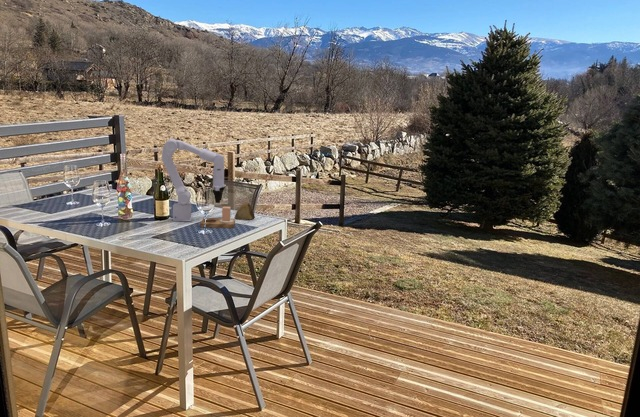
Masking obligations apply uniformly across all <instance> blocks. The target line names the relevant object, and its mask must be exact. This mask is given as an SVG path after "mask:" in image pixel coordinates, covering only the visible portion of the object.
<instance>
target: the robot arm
mask: <svg viewBox="0 0 640 417" xmlns="http://www.w3.org/2000/svg"><path fill="white" fill-rule="evenodd" d="M177 149H178V150H177ZM184 150H185V151H187V152H190V153H192V154H196V155H198V156H199V158H200V159H202V160H203V161H206V162H209V163H212V164H213V168H212V169H213V171H212V173H213V174H212V175H213V177H212V178H213V179H212V181H213V182H212V183H213V184H212V187H214V189H212V190H211V192H212V193H213V196H214V200H215V204H220V203H221V201H222V199H223V193H224V191H225V187H227V184H225V168H224V167H225V157H224V156H223V155H222V154H221V153H218V152H214V151H212V150H210V149H209V148H202V149H201V148H199V147H197V146H194V145H192V144H190V143H188V142H185V141H182V140H180V139H177V138H174V137H173V138H171V137H170V138H169V139H167V141H165V143H164V145H163V147H162V151H161V160H162V162H163V165H164V167H165V169H166V172H167V174H168V176H169V178H170V180H171V183H172V184H173V187H174V189H175V192H176V196H177V203H174V204H173V206H172V222H191V221H192V220H193V219H194V217H193V216H192V202H191V201H190V200H191V195H192V194H191V193H190V191H189V190H187V187H186V186H185V185H184V183H183V180H182V178H181V176H180V174H179V171H178V169H177V167H176V165H175V163H174V160H173V155H174V153H175V152H176V151H184Z"/></svg>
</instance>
